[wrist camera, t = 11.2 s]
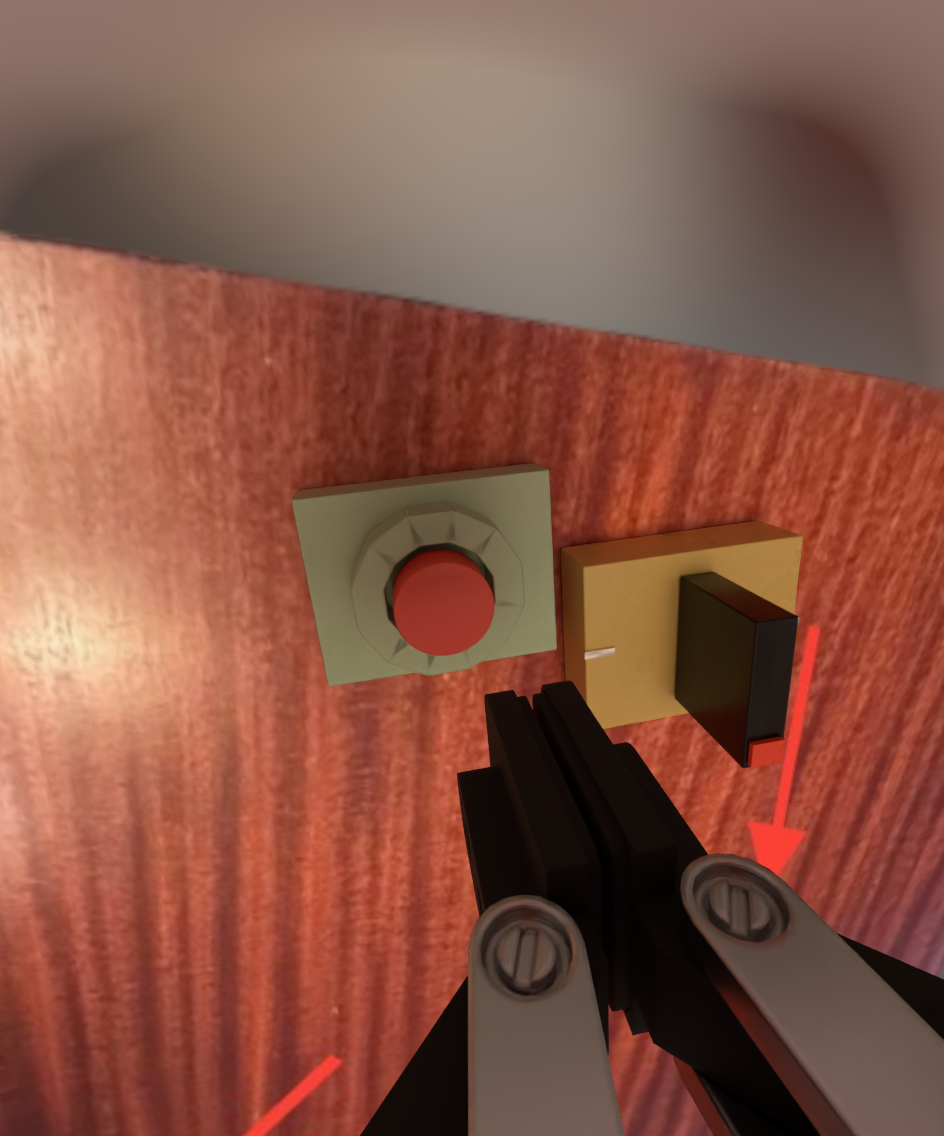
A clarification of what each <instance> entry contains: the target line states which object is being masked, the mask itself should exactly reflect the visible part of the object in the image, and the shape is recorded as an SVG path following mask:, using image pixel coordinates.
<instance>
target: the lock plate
mask: <svg viewBox="0 0 944 1136" xmlns="http://www.w3.org/2000/svg"><path fill="white" fill-rule="evenodd" d="M802 540H803V536H802V535H799V534H796V533H793V532H790V531H787V530H784V529H781V528H778V527H775V526H772V525H769V524H767V523H764V522H761V521H751V522H744V523H737V524H729V525H722V526H715V527H708V528H701V529H693V530H686V531H679V532H672V533H664V534H657V535H650V536H643V537H636V538H628V539H621V540H614V541H607V542H599V543H592V544H585V545H578V546H571V547H563V548H561V575H562V601H563V627H564V652H565V678H566V681H572V682H573V683H574V685H575V686H576V688H577V689H578V691H579V692H580V694H581V696H582V697H583V699H584V700H585V702H586V703H587V705H588V706H589V708H590V710H591V711H592V713H593V714H594V716H595V717H596V719H597V720H598V722H599V724H600V725H601V727H602V728H603V729H605V728H611V727H616V726H622V725H627V724H632V723H638V722H643V721H648V720H654V719H659V718H665V717H670V716H675V715H681V714H686V713H689V712H688V711H687V710H686V709H685V708H684V707H683V706H682V705H681V704H680V703H679V702H678V701H677V700H676V699H675V682H676V660H677V638H678V617H679V595H680V577H681V576H688V575H695V574H702V573H709V572H716V573H717V574H719V575H721V576H723V577H725V578H727V579H729V580H731V581H732V582H734V583H736V584H738V585H740V586H742V587H744V588H746V589H747V590H749V591H751V592H753V593H755V594H757V595H759V596H761V597H762V598H764V599H766V600H768V601H770V602H772V603H774V604H775V605H777V606H779V607H781V608H783V609H785V610H787V611H789V612H790V613H792V614H794V613H795V603H796V594H797V585H798V576H799V567H800V558H801V549H802ZM798 624H799V617H798Z"/></svg>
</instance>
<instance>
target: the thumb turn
mask: <svg viewBox="0 0 944 1136" xmlns="http://www.w3.org/2000/svg"><path fill="white" fill-rule="evenodd" d="M797 625H798V616H796V615H794V614H792V613H790V612H789V611H787V610H785V609H783V608H781V607H779V606H777V605H775V604H774V603H772V602H770V601H768V600H766V599H764V598H762V597H761V596H759V595H757V594H755V593H753V592H751V591H749V590H747V589H746V588H744V587H742V586H740V585H738V584H736V583H734V582H732V581H731V580H729V579H727V578H725V577H723V576H721V575H719V574H717V573H716V572H709V573H702V574H695V575H688V576H681V577H680V595H679V617H678V638H677V660H676V682H675V699H676V700H677V701H678V702H679V703H680V704H681V705H682V706H683V707H684V708H685V709H686V710H687V711H688V712H689V714H690V715H691V716H692V717H693V718H694V719H695V720H696V721H697V722H698V723H699V724H700V725H701V726H702V727H703V728H704V729H705V730H706V731H707V732H708V733H709V734H710V735H711V736H712V737H713V738H714V739H715V740H716V741H717V742H718V743H719V744H720V745H721V746H722V747H723V748H724V749H725V750H726V751H727V752H728V753H729V755H730V756H731V757H732V758H733V759H734V760H735V761H736V762H737V763H738V764H739V765H740V766H741V767H742V768H748V767H751V768H754V767H759V766H764V765H770V764H775V763H780V762H783V756H784V748H785V739H784V730H785V722H786V714H787V706H788V698H789V690H790V682H791V674H792V666H793V657H794V649H795V641H796V633H797Z"/></svg>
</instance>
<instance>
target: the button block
mask: <svg viewBox="0 0 944 1136" xmlns="http://www.w3.org/2000/svg"><path fill="white" fill-rule="evenodd" d="M291 502H292V507H293V512H294V517H295V522H296V527H297V532H298V537H299V542H300V547H301V552H302V557H303V562H304V567H305V572H306V577H307V582H308V587H309V592H310V597H311V602H312V607H313V612H314V617H315V622H316V627H317V632H318V637H319V642H320V647H321V652H322V657H323V662H324V667H325V672H326V677H327V682H328V686H329V687H330V686H336V685H342V684H348V683H355V682H361V681H367V680H373V679H379V678H385V677H391V676H397V675H403V674H410V673H416V672H417V673H420V674H424V675H428V676H430V675H436V674H443V673H449V672H455V671H461V670H467V669H470V668H472V667H474V666H475V665H476V664H478V663H479V662H483V661H489V660H495V659H501V658H507V657H513V656H519V655H526V654H532V653H538V652H544V651H550V650H556V649H557V639H556V616H555V593H554V570H553V547H552V524H551V502H550V479H549V470H548V469H546V468H544V467H542V466H540V465H537V464H535V463H527V464H519V465H510V466H502V467H493V468H485V469H476V470H467V471H459V472H450V473H442V474H433V475H424V476H416V477H407V478H399V479H390V480H381V481H373V482H364V483H356V484H347V485H338V486H330V487H321V488H313V489H304V490H299V491H298V492H297V494H296V495H295V496H294V498H293V499H292V501H291ZM432 549H450V550H454V551H458V552H460V553H462V554H464V555H466V556H467V557H469V558H470V559H471V560H472V561H474V562H475V564H476V565H477V566H478V567H479V569H480V571H481V572H482V574H483V576H484V577H485V579H486V581H487V582H488V584H489V586H490V588H491V590H492V593H493V596H494V608H495V609H494V616H493V619H492V622H491V625H490V627H489V629H488V630H487V632H486V633H485V635H484V636H483V637H482V638H481V639H480V640H479V641H478V642H477V643H476V644H475V645H474V646H472V647H470V648H469V649H467V650H465V651H463V652H460V653H457V654H453V655H446V656H437V655H430V654H427V653H424V652H421V651H419V650H417V649H415V648H414V647H412V646H411V645H410V644H408V643H407V642H406V641H405V640H404V638H403V637H402V636H401V634H400V632H399V631H398V628H397V626H396V623H395V618H394V609H393V597H392V592H393V585H394V582H395V579H396V576H397V574H398V573H399V571H400V570H401V568H402V567H403V566H404V565H405V564H406V562H408V561H409V560H410V559H411V558H413V557H414V556H416V555H418V554H420V553H422V552H425V551H428V550H432Z"/></svg>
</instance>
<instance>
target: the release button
mask: <svg viewBox="0 0 944 1136" xmlns="http://www.w3.org/2000/svg"><path fill="white" fill-rule="evenodd" d="M392 597H393V609H394V618H395V623H396V626H397V628H398V631H399V632H400V634H401V636H402V637H403V638H404V640H405V641H406V642H407V643H408V644H410V645H411V646H412V647H414V648H415V649H417V650H419V651H421V652H424V653H427V654H430V655H437V656H446V655H453V654H457V653H460V652H463V651H465V650H467V649H469V648H470V647H472V646H474V645H475V644H476V643H477V642H478V641H479V640H480V639H481V638H482V637H483V636H484V635H485V633H486V632H487V630H488V629H489V627H490V625H491V622H492V619H493V616H494V609H495V608H494V596H493V593H492V590H491V588H490V586H489V584H488V582H487V581H486V579H485V577H484V576H483V574H482V572H481V571H480V569H479V567H478V566H477V565H476V564H475V562H474V561H472V560H471V559H470V558H469V557H467V556H466V555H464V554H462V553H460V552H458V551H454V550H450V549H432V550H428V551H425V552H422V553H420V554H418V555H416V556H414V557H413V558H411V559H410V560H409V561H408V562H406V564H405V565H404V566H403V567H402V568H401V570H400V571H399V573H398V574H397V576H396V579H395V582H394V585H393V592H392Z"/></svg>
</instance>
